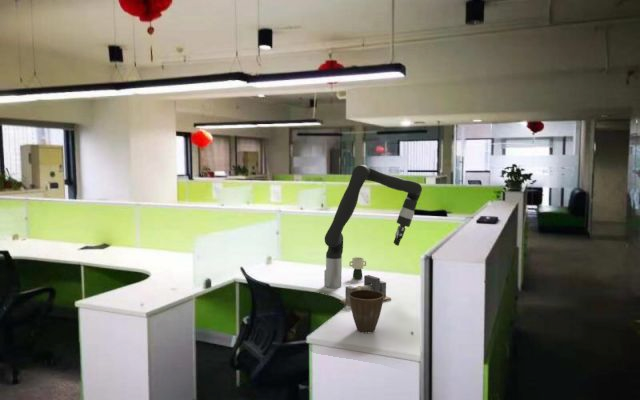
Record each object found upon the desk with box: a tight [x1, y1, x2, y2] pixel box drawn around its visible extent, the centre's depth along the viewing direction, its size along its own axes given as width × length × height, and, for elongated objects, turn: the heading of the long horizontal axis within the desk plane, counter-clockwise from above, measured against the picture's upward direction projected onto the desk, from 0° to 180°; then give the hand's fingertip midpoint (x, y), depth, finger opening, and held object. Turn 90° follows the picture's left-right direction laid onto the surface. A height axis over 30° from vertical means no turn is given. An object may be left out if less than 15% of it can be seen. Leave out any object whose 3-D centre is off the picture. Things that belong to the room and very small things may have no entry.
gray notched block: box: [363, 274, 381, 292], centre depth 255 cm, size 3×9×9 cm, turn 36°
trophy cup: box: [349, 256, 367, 280], centre depth 302 cm, size 11×7×13 cm, turn 99°
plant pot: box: [349, 290, 384, 334], centre depth 208 cm, size 15×15×16 cm
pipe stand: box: [340, 280, 392, 307], centre depth 253 cm, size 25×12×9 cm, turn 126°
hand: (395, 244), depth 265 cm, fingers open, 8 cm apart
